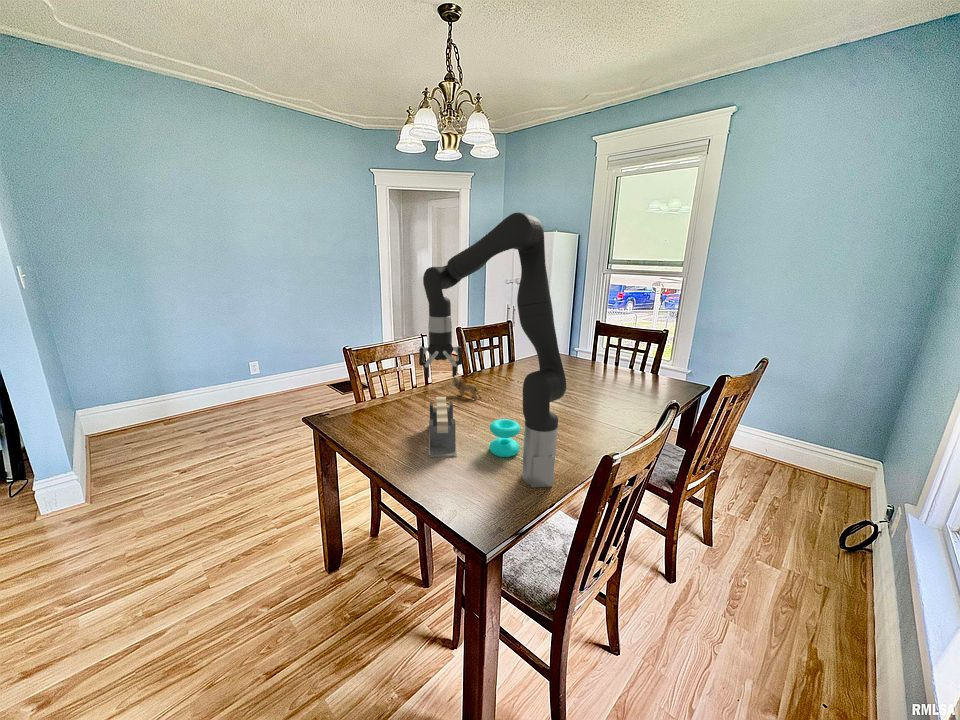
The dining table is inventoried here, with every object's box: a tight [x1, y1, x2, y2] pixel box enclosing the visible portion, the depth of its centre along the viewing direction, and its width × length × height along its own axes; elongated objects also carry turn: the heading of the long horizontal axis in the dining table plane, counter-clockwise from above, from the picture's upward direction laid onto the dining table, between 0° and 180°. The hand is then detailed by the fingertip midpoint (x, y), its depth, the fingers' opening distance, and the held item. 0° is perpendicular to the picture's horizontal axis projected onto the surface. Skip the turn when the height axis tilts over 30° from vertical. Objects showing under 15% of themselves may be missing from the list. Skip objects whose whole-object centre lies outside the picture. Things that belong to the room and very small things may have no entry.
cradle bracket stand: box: [428, 400, 458, 458], centre depth 134 cm, size 24×9×10 cm, turn 7°
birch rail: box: [435, 396, 448, 433], centre depth 132 cm, size 22×4×4 cm, turn 7°
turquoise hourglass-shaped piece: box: [488, 418, 521, 458], centre depth 127 cm, size 10×10×10 cm
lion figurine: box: [452, 376, 483, 401], centre depth 175 cm, size 15×5×9 cm, turn 67°
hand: (440, 376), depth 129 cm, fingers open, 8 cm apart
